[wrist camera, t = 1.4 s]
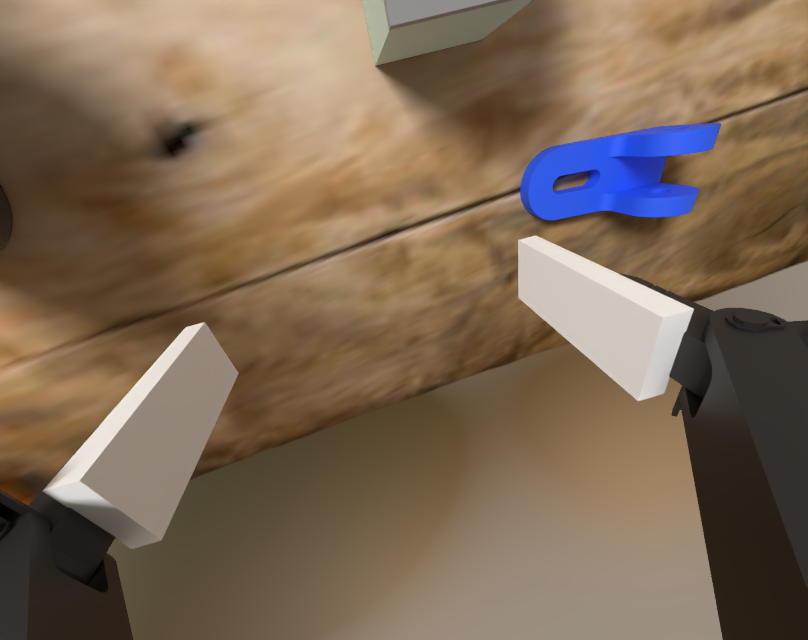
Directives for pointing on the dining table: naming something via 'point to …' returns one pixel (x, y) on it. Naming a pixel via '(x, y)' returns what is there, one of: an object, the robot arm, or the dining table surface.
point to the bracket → (616, 174)
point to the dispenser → (431, 24)
